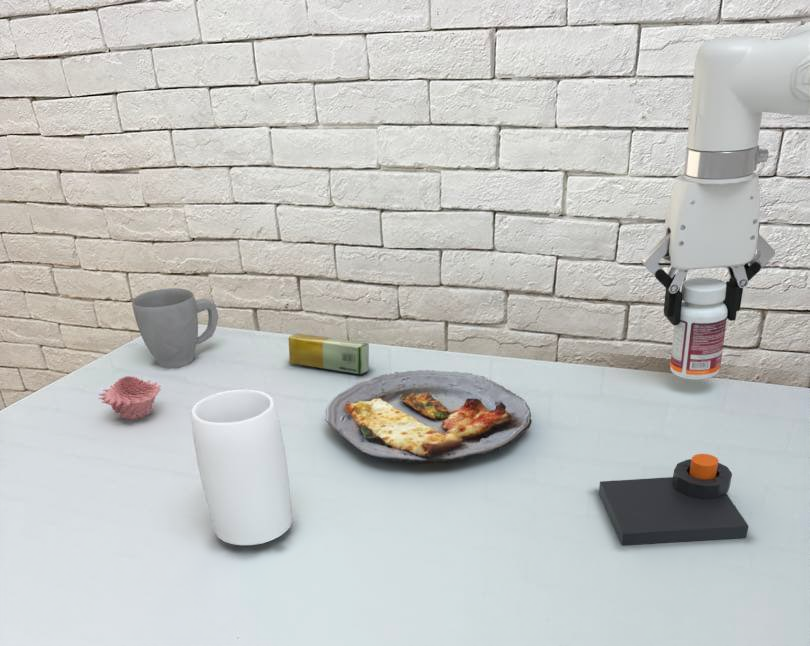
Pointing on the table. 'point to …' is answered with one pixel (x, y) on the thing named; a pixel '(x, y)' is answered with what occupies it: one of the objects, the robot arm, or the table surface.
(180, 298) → the mug
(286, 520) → the cup
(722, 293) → the pill bottle
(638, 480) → the scale
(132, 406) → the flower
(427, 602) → the table surface
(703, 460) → the button
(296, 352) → the medication box
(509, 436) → the food plate
